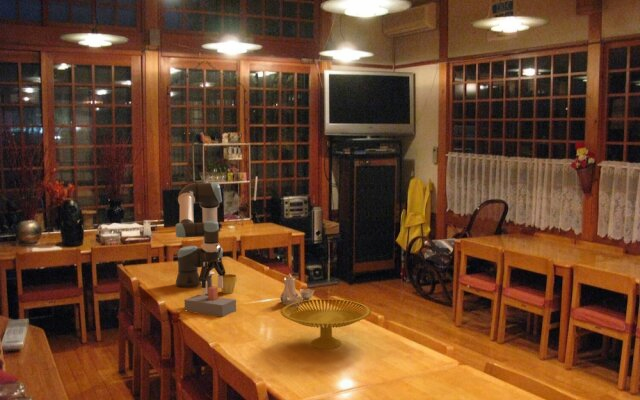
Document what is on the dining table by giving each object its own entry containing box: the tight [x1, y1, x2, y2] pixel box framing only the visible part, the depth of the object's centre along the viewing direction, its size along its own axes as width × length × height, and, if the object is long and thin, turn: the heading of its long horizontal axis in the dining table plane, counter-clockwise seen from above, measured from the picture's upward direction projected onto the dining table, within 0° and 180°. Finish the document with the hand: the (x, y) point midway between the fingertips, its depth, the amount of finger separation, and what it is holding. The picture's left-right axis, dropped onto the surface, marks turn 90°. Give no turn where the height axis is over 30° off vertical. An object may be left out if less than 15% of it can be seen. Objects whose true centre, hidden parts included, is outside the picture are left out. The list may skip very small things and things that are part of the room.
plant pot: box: [220, 273, 238, 295], centre depth 379 cm, size 10×10×10 cm
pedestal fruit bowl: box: [279, 298, 372, 350], centre depth 289 cm, size 40×40×15 cm
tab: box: [208, 285, 219, 301], centre depth 343 cm, size 4×4×12 cm
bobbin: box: [204, 270, 216, 296], centre depth 356 cm, size 10×10×17 cm
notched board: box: [184, 294, 237, 318], centre depth 341 cm, size 24×12×6 cm, turn 63°
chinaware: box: [279, 273, 315, 310], centre depth 354 cm, size 28×17×17 cm, turn 166°
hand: (212, 290), depth 343 cm, fingers open, 13 cm apart
